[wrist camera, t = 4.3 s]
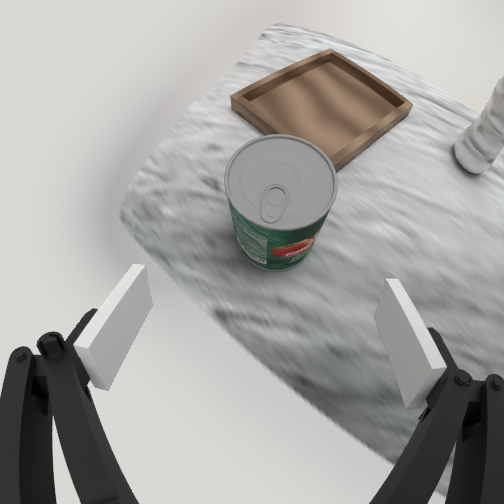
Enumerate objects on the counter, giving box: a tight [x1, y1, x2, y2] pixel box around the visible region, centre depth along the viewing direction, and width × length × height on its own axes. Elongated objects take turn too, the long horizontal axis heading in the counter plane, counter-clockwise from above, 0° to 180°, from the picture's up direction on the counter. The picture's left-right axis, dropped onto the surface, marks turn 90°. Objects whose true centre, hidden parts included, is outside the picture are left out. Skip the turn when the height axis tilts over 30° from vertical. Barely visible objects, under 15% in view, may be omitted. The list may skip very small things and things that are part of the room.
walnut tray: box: [230, 49, 413, 172], centre depth 34 cm, size 20×16×2 cm
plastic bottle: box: [454, 77, 504, 174], centre depth 23 cm, size 6×7×20 cm
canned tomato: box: [224, 134, 338, 272], centre depth 25 cm, size 8×8×11 cm
